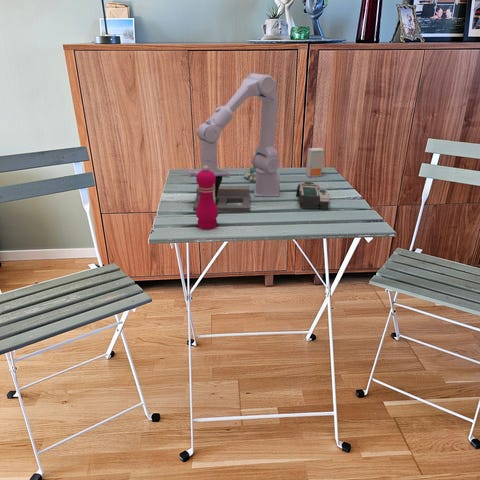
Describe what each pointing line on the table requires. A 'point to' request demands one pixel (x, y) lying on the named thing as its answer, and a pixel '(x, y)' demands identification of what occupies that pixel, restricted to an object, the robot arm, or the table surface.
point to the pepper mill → (206, 200)
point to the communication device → (312, 196)
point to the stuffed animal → (251, 174)
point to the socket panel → (230, 198)
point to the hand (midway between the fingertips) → (209, 196)
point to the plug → (214, 194)
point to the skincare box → (314, 162)
